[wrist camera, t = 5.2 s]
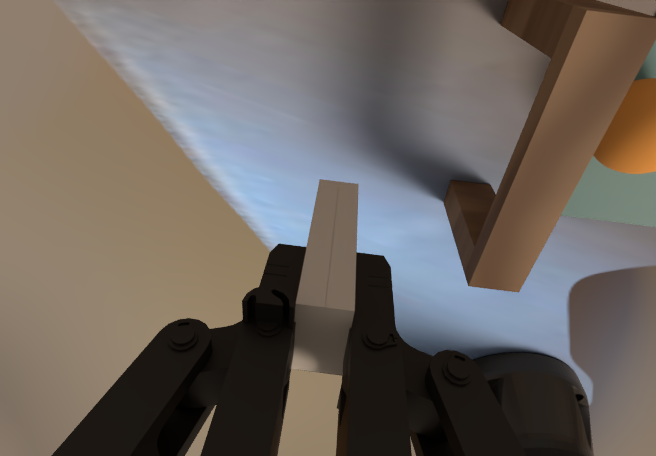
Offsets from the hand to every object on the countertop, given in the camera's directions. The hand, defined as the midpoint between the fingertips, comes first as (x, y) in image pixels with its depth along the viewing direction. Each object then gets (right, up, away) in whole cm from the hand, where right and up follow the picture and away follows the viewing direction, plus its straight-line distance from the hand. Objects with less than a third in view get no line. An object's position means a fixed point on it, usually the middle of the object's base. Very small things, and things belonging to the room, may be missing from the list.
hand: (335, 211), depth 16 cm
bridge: (+11, +7, +11) cm, 17 cm away
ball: (+18, +5, +8) cm, 21 cm away
